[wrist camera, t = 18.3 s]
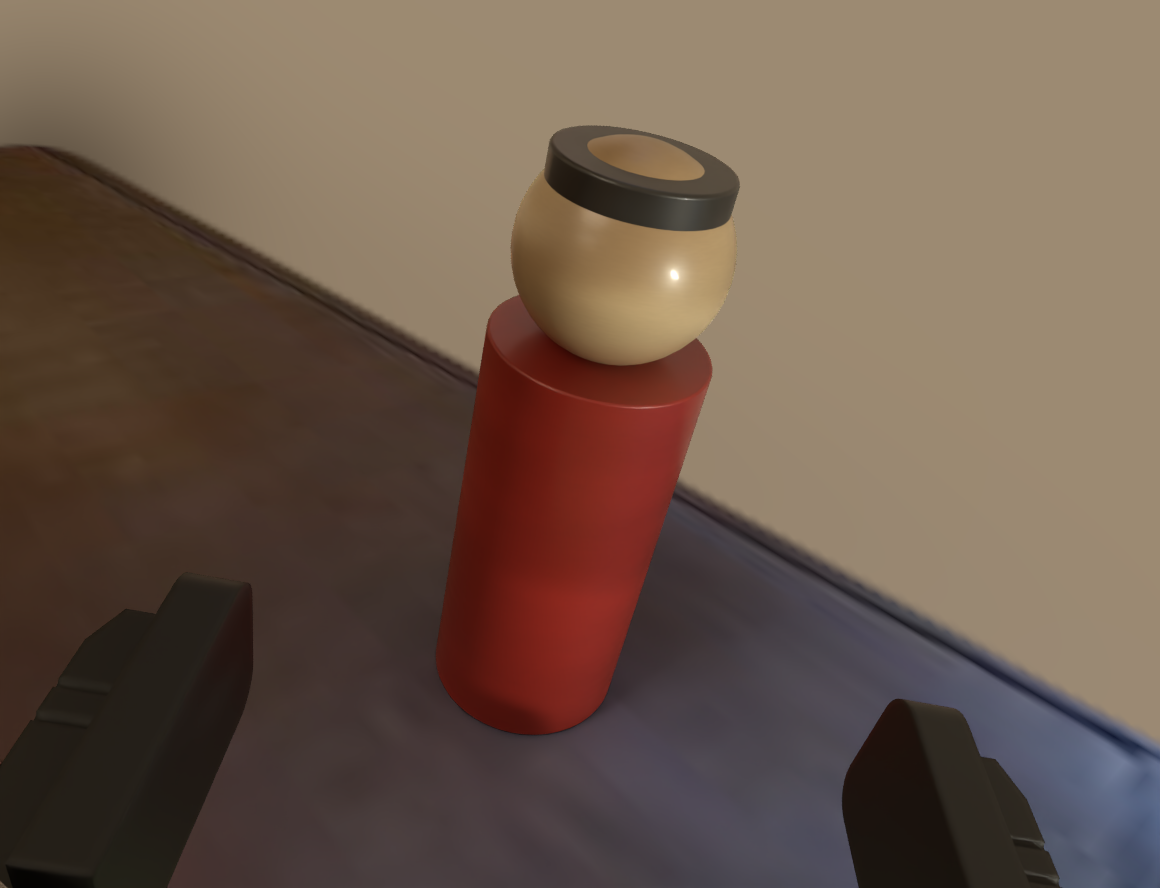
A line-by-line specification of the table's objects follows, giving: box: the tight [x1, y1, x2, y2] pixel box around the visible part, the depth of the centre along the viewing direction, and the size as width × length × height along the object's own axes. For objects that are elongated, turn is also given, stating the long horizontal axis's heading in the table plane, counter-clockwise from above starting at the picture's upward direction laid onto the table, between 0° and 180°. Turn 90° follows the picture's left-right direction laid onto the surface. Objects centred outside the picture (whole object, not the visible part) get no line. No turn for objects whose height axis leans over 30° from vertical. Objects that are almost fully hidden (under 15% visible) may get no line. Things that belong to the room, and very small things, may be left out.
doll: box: [436, 126, 740, 735], centre depth 20 cm, size 5×5×14 cm
